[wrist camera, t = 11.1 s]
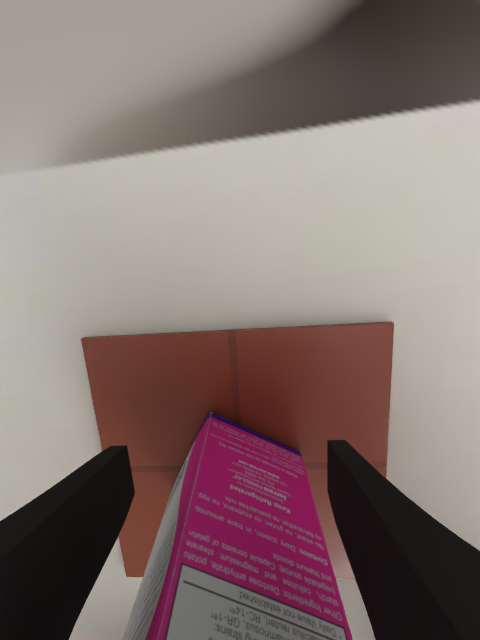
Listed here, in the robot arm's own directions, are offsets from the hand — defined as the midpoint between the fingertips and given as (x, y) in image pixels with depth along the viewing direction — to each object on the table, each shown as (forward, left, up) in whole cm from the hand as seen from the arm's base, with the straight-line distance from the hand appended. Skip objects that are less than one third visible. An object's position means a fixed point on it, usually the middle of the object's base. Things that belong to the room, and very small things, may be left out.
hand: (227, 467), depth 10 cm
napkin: (-4, 0, -5) cm, 7 cm away
